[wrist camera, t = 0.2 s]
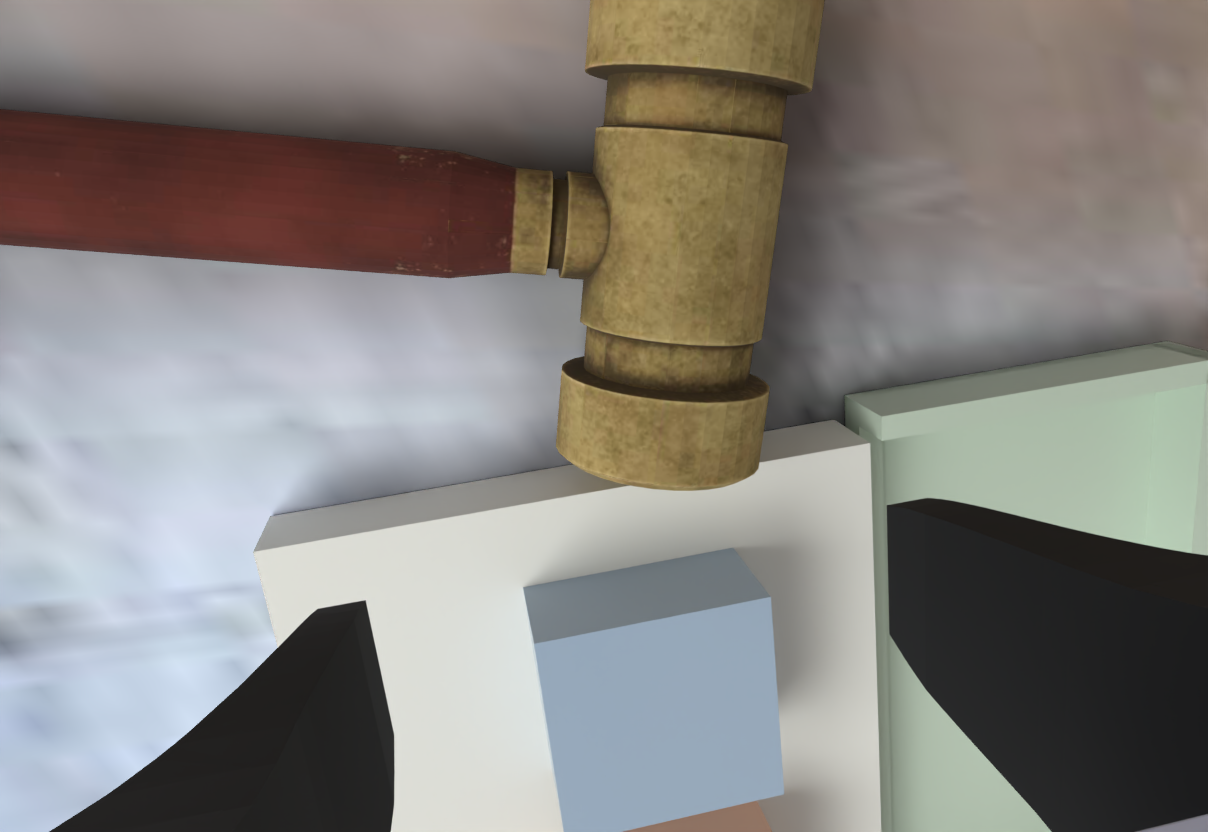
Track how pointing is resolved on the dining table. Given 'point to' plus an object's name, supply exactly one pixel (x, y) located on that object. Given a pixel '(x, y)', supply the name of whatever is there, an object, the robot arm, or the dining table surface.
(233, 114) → the dining table surface
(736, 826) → the tile terracotta
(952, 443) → the tray
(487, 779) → the board
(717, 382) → the gavel
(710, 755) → the tile slate
